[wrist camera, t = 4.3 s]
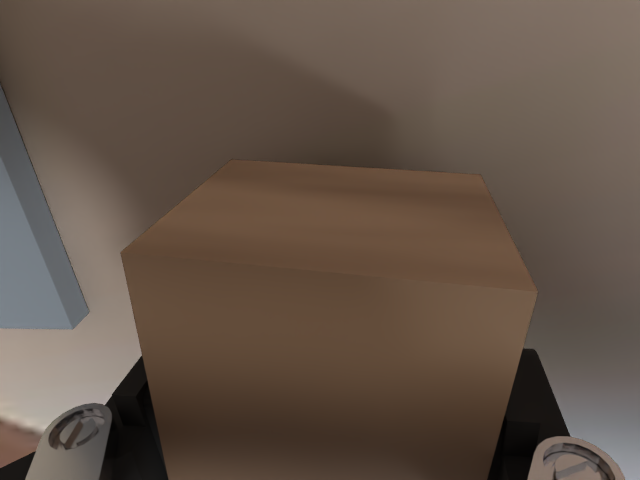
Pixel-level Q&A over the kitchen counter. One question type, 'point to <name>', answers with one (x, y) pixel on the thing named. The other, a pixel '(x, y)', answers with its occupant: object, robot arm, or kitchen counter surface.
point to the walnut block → (330, 324)
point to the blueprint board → (31, 245)
